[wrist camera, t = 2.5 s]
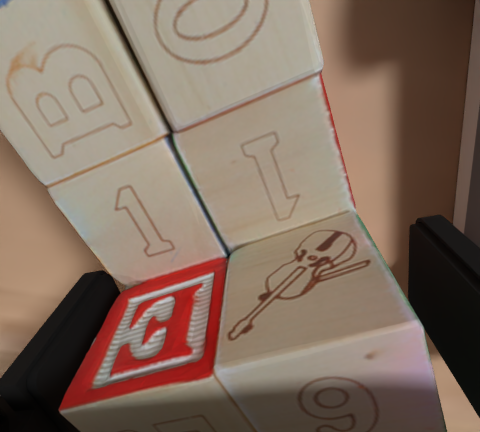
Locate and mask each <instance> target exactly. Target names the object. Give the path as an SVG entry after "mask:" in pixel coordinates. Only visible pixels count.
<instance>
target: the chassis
mask: <svg viewBox="0 0 480 432" xmlns="http://www.w3.org/2000/svg"><path fill="white" fill-rule="evenodd" d="M453 225H454V226H455V227H456V228H457V229H458V230H460V231H461V232H462V233H463V234H464V235H465V236H467V237H468V238H469V239H470V240H471V241H472V242H474V243H475V244H476V245H477V246H478V247H479V248H480V0H475V10H474V20H473V30H472V40H471V50H470V59H469V69H468V79H467V89H466V99H465V109H464V119H463V129H462V138H461V148H460V158H459V168H458V178H457V188H456V198H455V207H454V217H453Z"/></svg>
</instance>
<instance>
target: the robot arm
mask: <svg viewBox="0 0 480 432" xmlns="http://www.w3.org/2000/svg"><path fill="white" fill-rule="evenodd" d="M120 294H121V293H120V291H119V289H118V287H117V285H116V283H115V281H114V279H113V278H112V276H111V275H110V274H107V273H106V272H105V271H96V272H90V273H85V274H84V275H82V277H81V278H80V279H79V280H78V282H77V283H76V284H75V285H74V287H73V288H72V289H71V290H70V292H69V293H68V294H67V295H66V297H65V298H64V299H63V300H62V302H61V303H60V304H59V305H58V307H57V308H56V309H55V311H54V312H53V313H52V314H51V316H50V317H49V318H48V319H47V321H46V322H45V323H44V324H43V326H42V327H41V328H40V329H39V331H38V332H37V333H36V334H35V336H34V337H33V338H32V339H31V341H30V342H29V343H28V344H27V346H26V347H25V348H24V350H23V351H22V352H21V353H20V355H19V356H18V357H17V358H16V360H15V361H14V362H13V363H12V365H11V366H10V367H9V368H8V370H7V371H6V372H5V373H4V375H3V376H2V377H1V378H0V432H80V431H79V430H78V429H77V428H76V427H75V426H74V425H73V424H72V423H70V422H69V421H68V420H67V419H66V418H65V417H64V416H62V415H61V414H60V412H59V407H60V405H61V403H62V400H63V398H64V396H65V393H66V391H67V389H68V387H69V386H70V384H71V382H72V380H73V378H74V376H75V375H76V373H77V371H78V369H79V367H80V365H81V364H82V362H83V360H84V358H85V356H86V354H87V352H88V351H89V350H90V347H91V345H92V343H93V341H94V340H95V338H96V336H97V334H98V333H99V331H100V329H101V327H102V325H103V323H104V321H105V319H106V317H107V315H108V312H109V311H110V309H111V307H112V306H113V304H114V302H115V300H116V298H117V297H118V296H119V295H120ZM408 298H409V303H410V305H411V307H412V308H413V310H414V312H415V313H416V315H417V317H418V318H419V320H420V322H421V323H422V325H423V327H424V329H425V331H426V332H427V334H428V335H429V337H430V339H431V340H432V342H433V343H434V345H435V347H436V348H437V350H438V352H439V353H440V355H441V356H442V358H443V360H444V361H445V363H446V364H447V366H448V368H449V369H450V371H451V373H452V374H453V376H454V377H455V379H456V381H457V382H458V384H459V385H460V387H461V389H462V390H463V392H464V394H465V395H466V397H467V398H468V400H469V402H470V403H471V405H472V406H473V408H474V410H475V411H476V413H477V415H478V416H479V418H480V248H479V247H478V246H477V245H476V244H475V243H474V242H472V241H471V240H470V239H469V238H468V237H467V236H465V235H464V234H463V233H462V232H461V231H460V230H458V229H457V228H456V227H455V226H454V225H452V224H451V223H450V222H449V221H448V220H447V219H445V218H444V217H443V216H441V215H434V216H428V217H422V218H418V219H417V220H416V223H415V224H412V225H411V226H410V232H409V283H408Z"/></svg>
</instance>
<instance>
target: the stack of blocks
mask: <svg viewBox="0 0 480 432" xmlns="http://www.w3.org/2000/svg"><path fill="white" fill-rule="evenodd" d="M323 65H324V60H323V56H322V52H321V48H320V44H319V39H318V35H317V31H316V27H315V23H314V18H313V14H312V10H311V6H310V2H309V0H0V130H1V132H2V133H3V134H4V136H5V137H6V138H7V139H8V141H9V142H10V143H11V145H12V146H13V147H14V149H15V150H16V151H17V153H18V154H19V155H20V157H21V158H22V159H23V161H24V162H25V163H26V165H27V166H28V168H29V169H30V170H31V172H32V173H33V174H34V175H35V177H36V178H37V179H38V180H39V181H40V182H41V183H42V184H44V185H45V186H46V187H47V190H48V192H49V195H50V197H51V198H52V200H53V201H54V203H55V205H56V206H57V207H58V209H59V210H60V211H61V212H62V214H63V215H64V216H65V218H66V219H67V220H68V222H69V223H70V224H71V225H72V227H73V228H74V229H75V231H76V232H77V233H78V235H79V236H80V237H81V238H82V240H83V241H84V242H85V243H86V245H87V246H88V247H89V248H90V250H91V251H92V252H93V253H94V255H95V256H96V257H97V258H98V260H99V261H100V262H101V264H102V265H103V266H104V267H105V269H106V270H107V271H108V273H109V274H110V275H111V276H112V277H114V278H115V279H116V280H117V281H119V282H120V283H121V284H123V285H125V286H126V287H125V290H124V291H122V293H121V294H120V295H119V296H118V297H117V298H116V300H115V302H114V304H113V306H112V307H111V309H110V311H109V312H108V315H107V317H106V319H105V321H104V323H103V325H102V327H101V329H100V331H99V333H98V334H97V336H96V338H95V340H94V341H93V343H92V345H91V347H90V350H89V351H88V352H87V354H86V356H85V358H84V360H83V362H82V364H81V365H80V367H79V369H78V371H77V373H76V375H75V376H74V378H73V380H72V382H71V384H70V386H69V387H68V389H67V391H66V393H65V396H64V398H63V400H62V403H61V405H60V407H59V412H60V414H61V415H62V416H64V417H65V418H66V419H67V420H68V421H69V422H70V423H72V424H73V425H74V426H75V427H76V428H77V429H78V430H79V431H80V432H447V429H446V425H445V420H444V416H443V412H442V407H441V403H440V399H439V394H438V390H437V385H436V380H435V376H434V371H433V367H432V363H431V359H430V355H429V351H428V347H427V343H426V337H425V331H424V327H423V325H422V323H421V322H420V320H419V318H418V317H417V315H416V313H415V312H414V310H413V308H412V307H411V305H410V303H409V302H408V300H407V298H406V296H405V295H404V293H403V291H402V290H401V288H400V286H399V285H398V283H397V281H396V279H395V277H394V276H393V274H392V272H391V271H390V269H389V267H388V265H387V264H386V262H385V260H384V258H383V257H382V255H381V253H380V252H379V250H378V248H377V246H376V245H375V243H374V241H373V239H372V238H371V236H370V234H369V232H368V231H367V229H366V227H365V225H364V224H363V222H362V221H361V219H360V218H359V216H358V214H357V213H356V207H355V201H354V198H353V195H352V191H351V187H350V183H349V179H348V175H347V171H346V167H345V164H344V160H343V156H342V152H341V148H340V145H339V141H338V137H337V133H336V129H335V125H334V121H333V117H332V113H331V109H330V105H329V101H328V98H327V94H326V90H325V87H324V83H323V79H322V75H321V72H322V68H323Z"/></svg>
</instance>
